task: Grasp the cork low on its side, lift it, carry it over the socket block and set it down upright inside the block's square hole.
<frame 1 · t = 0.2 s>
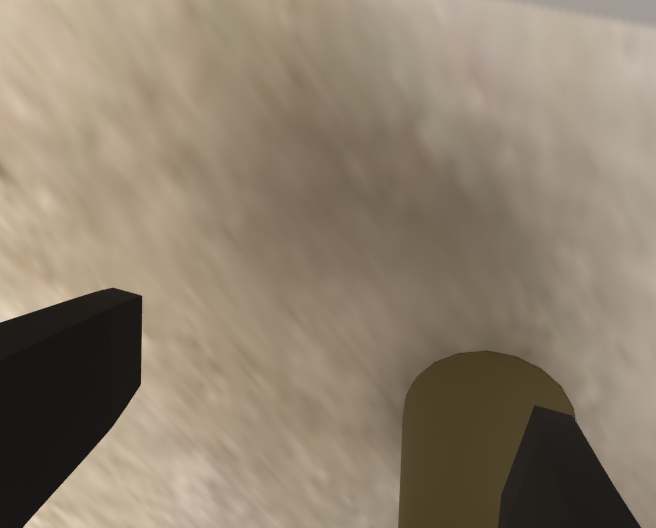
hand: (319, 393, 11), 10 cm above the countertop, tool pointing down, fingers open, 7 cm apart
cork: (486, 420, 23), on the countertop
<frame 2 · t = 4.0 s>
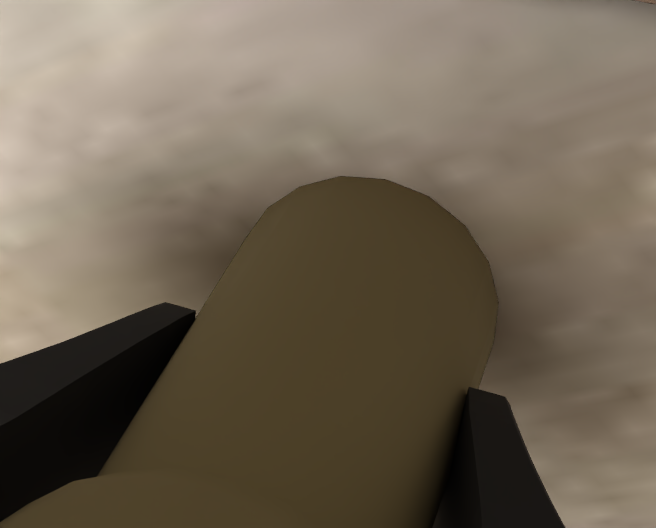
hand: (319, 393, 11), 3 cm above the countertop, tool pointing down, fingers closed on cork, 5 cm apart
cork: (362, 301, 14), on the countertop, touching gripper
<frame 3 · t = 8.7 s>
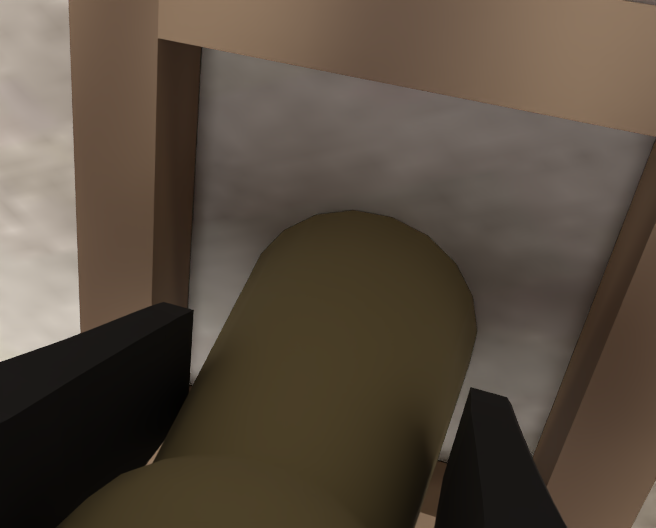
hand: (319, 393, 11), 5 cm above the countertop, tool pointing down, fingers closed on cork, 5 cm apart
socket block: (375, 278, 15), on the countertop
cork: (358, 318, 16), resting in socket block, touching gripper
when the fingers open (4 cm above the countertop, at t = 9.5 s): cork stays where it is, resting in socket block.
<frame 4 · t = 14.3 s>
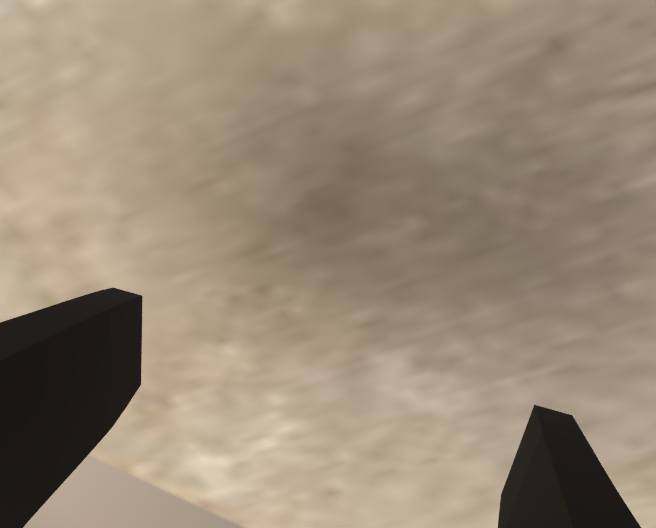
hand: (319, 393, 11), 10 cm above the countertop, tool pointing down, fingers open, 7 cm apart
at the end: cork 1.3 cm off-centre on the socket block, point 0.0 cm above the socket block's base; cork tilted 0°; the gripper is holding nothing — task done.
